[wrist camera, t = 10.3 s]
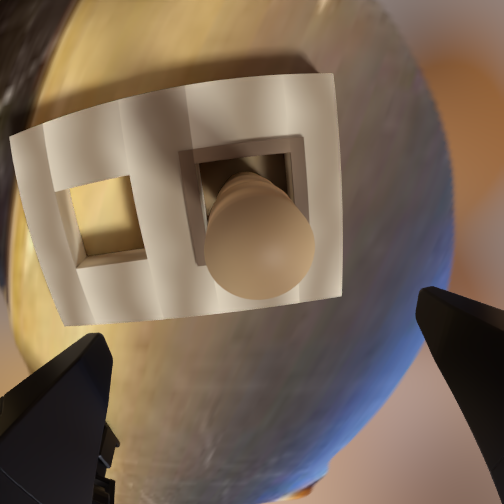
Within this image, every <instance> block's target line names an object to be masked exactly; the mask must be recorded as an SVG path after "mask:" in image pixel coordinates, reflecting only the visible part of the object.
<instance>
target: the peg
mask: <svg viewBox="0 0 504 504" xmlns="http://www.w3.org/2000/svg"><path fill="white" fill-rule="evenodd" d="M314 253H315V240H314V235H313V231H312V229H311V226H310V224H309V223H308V221H307V219H306V218H305V217H304V215H303V214H302V213H301V212H300V210H299V209H298V208H297V207H296V205H295V204H294V203H293V202H292V200H291V199H290V198H289V197H288V195H287V194H286V193H285V192H284V191H282V190H281V189H279V188H278V187H276V186H275V185H274V184H273V183H272V182H270V181H269V180H267V179H266V178H264V177H261V176H259V175H258V174H256V173H253V172H240V173H237V174H235V175H233V176H231V177H230V178H229V179H228V180H227V181H226V183H225V185H224V186H223V187H222V189H221V190H220V192H219V194H218V196H217V199H216V202H215V203H214V205H213V207H212V209H211V212H210V215H209V221H208V226H207V232H206V238H205V244H204V257H205V262H206V266H207V268H208V271H209V273H210V274H211V276H212V278H213V279H214V280H215V281H216V283H217V284H218V285H220V286H221V287H222V288H223V289H224V290H226V291H227V292H229V293H231V294H233V295H235V296H238V297H241V298H244V299H250V300H264V299H270V298H274V297H277V296H280V295H282V294H284V293H286V292H288V291H290V290H291V289H292V288H294V287H295V286H296V285H297V284H298V283H300V282H301V280H302V279H303V278H304V277H305V275H306V274H307V272H308V271H309V269H310V267H311V264H312V261H313V258H314Z"/></svg>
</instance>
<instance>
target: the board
mask: <svg viewBox="0 0 504 504" xmlns="http://www.w3.org/2000/svg"><path fill="white" fill-rule="evenodd" d="M10 144H11V151H12V157H13V163H14V168H15V173H16V178H17V183H18V188H19V192H20V196H21V201H22V205H23V209H24V213H25V216H26V220H27V224H28V227H29V231H30V234H31V238H32V241H33V244H34V247H35V251H36V254H37V257H38V260H39V263H40V266H41V269H42V271H43V274H44V277H45V280H46V282H47V285H48V288H49V290H50V293H51V295H52V298H53V300H54V303H55V305H56V308H57V310H58V313H59V315H60V317H61V320H62V322H63V324H64V326H80V325H97V324H112V323H126V322H139V321H150V320H161V319H172V318H182V317H192V316H201V315H210V314H219V313H227V312H235V311H243V310H251V309H259V308H266V307H273V306H280V305H287V304H294V303H301V302H307V301H314V300H320V299H326V298H333V297H339V296H342V257H343V226H342V184H341V162H340V144H339V130H338V117H337V106H336V95H335V85H334V76H333V73H313V74H283V75H267V76H254V77H243V78H234V79H225V80H217V81H210V82H203V83H196V84H190V85H184V86H179V87H173V88H168V89H163V90H158V91H153V92H148V93H144V94H139V95H135V96H131V97H127V98H123V99H119V100H115V101H111V102H108V103H104V104H100V105H97V106H93V107H90V108H87V109H83V110H80V111H77V112H74V113H71V114H68V115H65V116H62V117H59V118H56V119H53V120H51V121H48V122H45V123H42V124H40V125H37V126H35V127H32V128H29V129H27V130H24V131H22V132H20V133H17V134H15V135H12V136H10ZM278 153H284V157H285V168H286V180H287V192H288V197H289V198H290V199H291V200H292V202H293V203H294V204H295V205H296V207H297V208H298V209H299V210H300V212H301V213H302V214H303V215H304V217H305V218H306V219H307V221H308V223H309V224H310V226H311V229H312V231H313V235H314V240H315V253H314V258H313V261H312V264H311V267H310V269H309V271H308V272H307V274H306V275H305V277H304V278H303V279H302V280H301V282H300V283H298V284H297V285H296V286H295V287H294V288H292V289H291V290H290V291H288V292H286V293H284V294H282V295H280V296H277V297H274V298H270V299H264V300H250V299H244V298H241V297H238V296H235V295H233V294H231V293H229V292H227V291H226V290H224V289H223V288H222V287H221V286H220V285H218V284H217V283H216V281H215V280H214V279H213V278H212V276H211V274H210V273H209V271H208V268H207V266H206V262H205V257H204V244H205V238H206V232H207V226H208V221H207V215H206V208H205V202H204V195H203V189H202V182H201V175H200V168H199V163H204V162H210V161H218V160H225V159H233V158H241V157H250V156H259V155H268V154H278ZM127 175H130V181H131V186H132V191H133V196H134V201H135V206H136V211H137V215H138V220H139V225H140V229H141V233H142V238H143V242H144V246H145V248H143V249H136V250H129V251H122V252H115V253H108V254H101V255H95V256H88V257H87V255H86V252H85V248H84V245H83V241H82V238H81V234H80V231H79V227H78V223H77V219H76V215H75V211H74V207H73V203H72V198H71V194H70V189H69V188H73V187H77V186H81V185H85V184H90V183H94V182H98V181H103V180H108V179H112V178H117V177H122V176H127Z"/></svg>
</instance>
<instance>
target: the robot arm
mask: <svg viewBox="0 0 504 504" xmlns="http://www.w3.org/2000/svg"><path fill="white" fill-rule="evenodd" d="M415 314H416V320H417V323H418V325H419V327H420V329H421V331H422V334H423V336H424V338H425V340H426V342H427V345H428V347H429V349H430V352H431V354H432V356H433V358H434V360H435V362H436V364H437V366H438V368H439V369H440V371H441V373H442V375H443V377H444V379H445V380H446V382H447V384H448V386H449V388H450V389H451V391H452V393H453V395H454V397H455V399H456V401H457V403H458V405H459V407H460V409H461V411H462V413H463V415H464V417H465V419H466V421H467V423H468V425H469V427H470V429H471V431H472V433H473V435H474V438H475V440H476V442H477V444H478V446H479V448H480V451H481V453H482V455H483V457H484V459H485V462H486V464H487V466H488V469H489V471H490V474H491V476H492V479H493V481H494V484H495V486H496V489H497V491H498V494H499V497H500V499H501V502H502V504H504V310H501V309H498V308H495V307H492V306H489V305H486V304H484V303H481V302H478V301H475V300H472V299H469V298H466V297H463V296H461V295H458V294H455V293H452V292H449V291H446V290H443V289H440V288H437V287H434V286H430V287H426V288H422V289H421V290H420V292H419V295H418V301H417V307H416V313H415ZM112 366H113V358H112V355H111V352H110V350H109V348H108V345H107V343H106V341H105V338H104V336H103V335H102V334H101V333H88V334H86V335H85V336H83V337H82V338H81V339H79V340H78V341H77V342H75V343H74V344H72V345H71V346H70V347H68V348H67V349H65V350H64V351H63V352H61V353H60V354H59V355H57V356H56V357H54V358H53V359H52V360H50V361H49V362H48V363H46V364H45V365H44V366H42V367H41V368H39V369H38V370H37V371H35V372H34V373H33V374H31V375H30V376H29V377H27V378H26V379H25V380H23V381H22V382H21V383H19V384H18V385H17V386H15V387H14V388H13V389H11V390H10V391H9V392H7V393H6V394H5V395H4V397H3V396H2V397H1V398H0V504H114V494H115V481H114V480H112V479H108V478H105V474H106V469H107V468H110V467H111V463H112V459H113V455H114V450H115V447H119V446H120V442H119V441H118V439H117V438H116V437H115V435H114V434H113V432H112V431H111V429H110V428H109V426H108V425H107V423H106V422H105V419H106V414H107V408H108V401H109V392H110V383H111V374H112Z"/></svg>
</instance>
